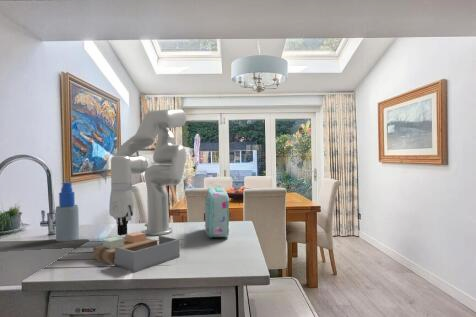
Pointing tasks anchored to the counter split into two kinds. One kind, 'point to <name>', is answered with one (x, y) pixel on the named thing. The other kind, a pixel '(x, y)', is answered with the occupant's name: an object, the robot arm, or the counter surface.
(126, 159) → the robot arm
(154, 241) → the tan wooden board
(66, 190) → the spray bottle
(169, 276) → the counter surface
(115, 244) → the sage tile
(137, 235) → the terracotta block
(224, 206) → the lunch box
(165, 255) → the box
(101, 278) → the counter surface
